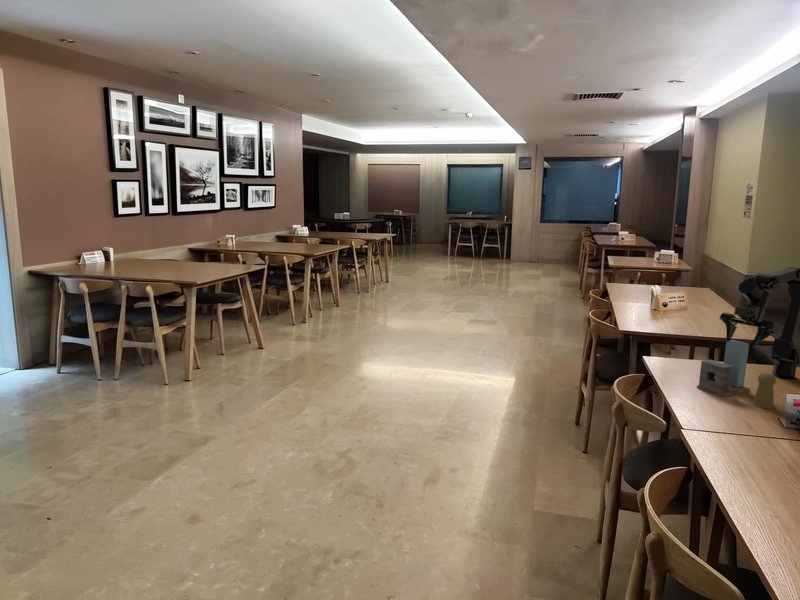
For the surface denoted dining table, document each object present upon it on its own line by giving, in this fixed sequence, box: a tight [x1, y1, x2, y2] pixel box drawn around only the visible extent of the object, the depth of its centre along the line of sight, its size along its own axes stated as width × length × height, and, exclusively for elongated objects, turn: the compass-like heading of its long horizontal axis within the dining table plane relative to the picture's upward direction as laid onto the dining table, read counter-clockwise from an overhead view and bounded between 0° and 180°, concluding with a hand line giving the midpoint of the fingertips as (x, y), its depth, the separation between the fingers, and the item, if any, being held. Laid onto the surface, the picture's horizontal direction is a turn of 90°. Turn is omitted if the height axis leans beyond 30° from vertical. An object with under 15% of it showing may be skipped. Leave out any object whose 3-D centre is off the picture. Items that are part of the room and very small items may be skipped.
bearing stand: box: [696, 359, 751, 398], centre depth 209 cm, size 16×10×11 cm, turn 116°
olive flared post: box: [752, 373, 777, 410], centre depth 194 cm, size 6×6×11 cm
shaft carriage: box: [715, 339, 750, 387], centre depth 209 cm, size 11×6×16 cm, turn 116°
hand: (739, 344), depth 206 cm, fingers open, 8 cm apart
